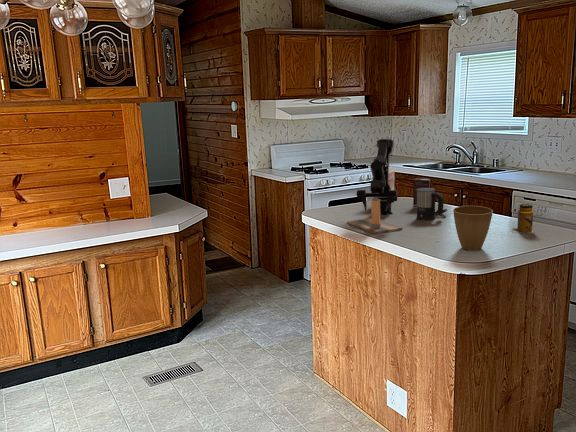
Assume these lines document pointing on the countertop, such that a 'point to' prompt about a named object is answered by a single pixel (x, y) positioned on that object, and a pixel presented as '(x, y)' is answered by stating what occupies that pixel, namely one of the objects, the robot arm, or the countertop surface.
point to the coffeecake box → (391, 181)
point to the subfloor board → (366, 225)
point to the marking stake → (375, 213)
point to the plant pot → (472, 225)
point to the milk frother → (428, 204)
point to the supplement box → (416, 185)
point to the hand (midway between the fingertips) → (375, 210)
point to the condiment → (524, 219)
